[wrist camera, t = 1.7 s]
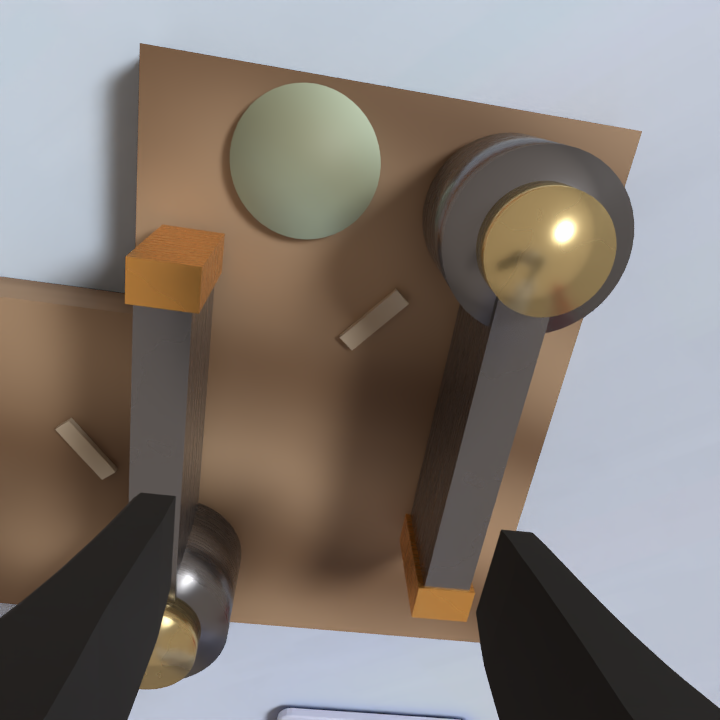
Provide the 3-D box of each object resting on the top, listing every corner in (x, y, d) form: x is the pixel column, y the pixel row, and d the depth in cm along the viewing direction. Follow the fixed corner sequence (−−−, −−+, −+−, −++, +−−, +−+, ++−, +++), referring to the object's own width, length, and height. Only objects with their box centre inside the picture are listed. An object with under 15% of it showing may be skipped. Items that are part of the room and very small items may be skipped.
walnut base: (471, 610, 24) (482, 649, 22) (5, 568, 22) (-22, 608, 20) (616, 127, 17) (647, 132, 15) (-37, 12, 15) (-81, 4, 14)
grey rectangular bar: (236, 606, 21) (217, 712, 17) (108, 595, 20) (63, 702, 17) (276, 239, 16) (261, 284, 12) (111, 215, 15) (49, 254, 12)
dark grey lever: (440, 119, 15) (475, 131, 11) (601, 147, 15) (682, 166, 12) (359, 532, 20) (366, 629, 16) (484, 545, 20) (517, 642, 17)
